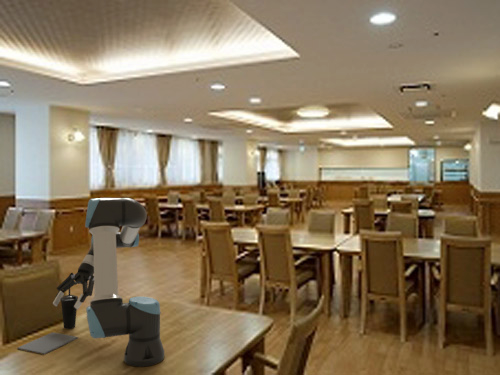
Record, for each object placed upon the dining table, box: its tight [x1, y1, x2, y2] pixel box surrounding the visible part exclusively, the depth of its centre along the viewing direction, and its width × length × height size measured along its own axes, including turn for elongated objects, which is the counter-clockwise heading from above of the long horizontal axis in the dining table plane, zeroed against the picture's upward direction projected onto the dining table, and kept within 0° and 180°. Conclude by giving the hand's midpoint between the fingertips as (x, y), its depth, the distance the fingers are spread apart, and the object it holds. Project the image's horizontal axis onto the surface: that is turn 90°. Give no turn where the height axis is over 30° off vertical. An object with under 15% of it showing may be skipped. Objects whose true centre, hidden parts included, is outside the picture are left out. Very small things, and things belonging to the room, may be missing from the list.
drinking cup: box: [60, 284, 79, 330], centre depth 198 cm, size 8×8×20 cm
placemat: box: [17, 331, 79, 355], centre depth 180 cm, size 14×18×1 cm
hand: (65, 306), depth 196 cm, fingers open, 12 cm apart
